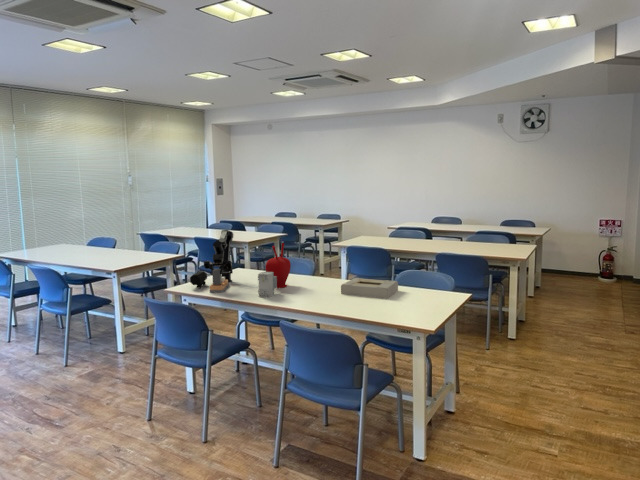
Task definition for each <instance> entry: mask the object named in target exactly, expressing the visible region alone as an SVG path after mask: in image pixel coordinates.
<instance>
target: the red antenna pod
mask: <svg viewBox="0 0 640 480" xmlns="http://www.w3.org/2000/svg"><path fill="white" fill-rule="evenodd" d="M271 247H272V250H273V254H274V257H272V258H269V259H268V260H267V261H266V262H265V268H264V269H265V272H274V276H277V288H276V289H285V288H286V287H288V284H286V282H287V280H288V277H289V275H290V273H291V265H292V263H291V261H290V260H289V259H288V258H287V257H284V247H285V243H284V242H282V243H281V252H280V256H278V254H277V250H276V246H275V245H272V246H271Z"/></svg>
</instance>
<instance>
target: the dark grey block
mask: <svg viewBox="0 0 640 480" xmlns="http://www.w3.org/2000/svg"><path fill="white" fill-rule="evenodd" d="M220 271H221V269H219V268H214V269H213V270H212V271H211V275H212V283H213V285H220V284H221V283H222V274H221V275H220Z"/></svg>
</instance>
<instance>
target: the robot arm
mask: <svg viewBox="0 0 640 480" xmlns="http://www.w3.org/2000/svg"><path fill="white" fill-rule="evenodd" d="M233 239H234V232H232V231H231V230H229V229H222V230H221V233H220V237H219V239H216V240H215V241H214V242H213V243H212V247H213V249H214V251H215V253H213V254H212V260H213V261H212V262H211V261H210V260H204V262H203V266H204V269H205V270H208V269H209V270H211V272H212V270H213V269H215V268H214V267H218V269H221V271H220V275H221V276H222V277H225V280H228V283H230V282H233V280H232V278H231V277H232V274H233V272H234V271H233V264H232V260H230V253H231V252H230V250H231V244H232V242H233Z"/></svg>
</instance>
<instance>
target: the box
mask: <svg viewBox="0 0 640 480" xmlns="http://www.w3.org/2000/svg"><path fill="white" fill-rule="evenodd" d="M398 291H399V282H398V281H397V280H388V279H386V280H384V279H383V280H382V279H372V278H371V279H370V278H361V277H353V278H352V279H350V280H348V281H347V282H344V283H342V284H341V285H340V295H346V296H354V297H355V296H357V297H358V296H359V297H366V298H378V299H386V300H387V299H389V298H391V297H392V296H393V295H394V294H396V293H397V292H398Z"/></svg>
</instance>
